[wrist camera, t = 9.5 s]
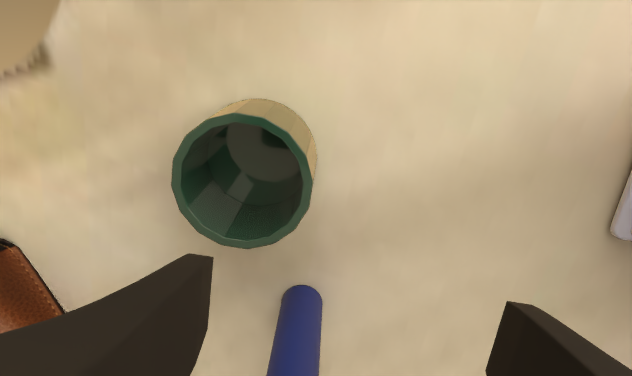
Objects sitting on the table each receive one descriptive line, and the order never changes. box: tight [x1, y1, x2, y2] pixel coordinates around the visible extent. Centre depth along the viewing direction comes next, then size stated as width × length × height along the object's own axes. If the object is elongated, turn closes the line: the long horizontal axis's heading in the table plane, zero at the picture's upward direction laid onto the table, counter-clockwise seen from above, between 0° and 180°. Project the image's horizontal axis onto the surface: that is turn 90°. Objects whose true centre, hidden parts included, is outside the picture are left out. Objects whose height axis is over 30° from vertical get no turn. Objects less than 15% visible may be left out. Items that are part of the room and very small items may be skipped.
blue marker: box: [266, 285, 322, 376], centre depth 19 cm, size 2×2×8 cm
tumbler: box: [171, 99, 317, 249], centre depth 19 cm, size 5×5×4 cm
